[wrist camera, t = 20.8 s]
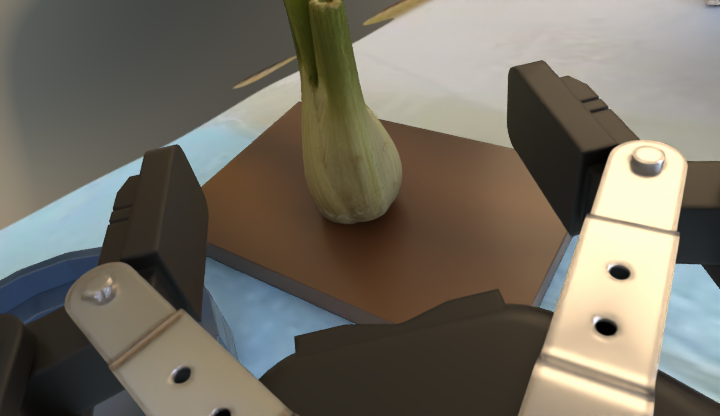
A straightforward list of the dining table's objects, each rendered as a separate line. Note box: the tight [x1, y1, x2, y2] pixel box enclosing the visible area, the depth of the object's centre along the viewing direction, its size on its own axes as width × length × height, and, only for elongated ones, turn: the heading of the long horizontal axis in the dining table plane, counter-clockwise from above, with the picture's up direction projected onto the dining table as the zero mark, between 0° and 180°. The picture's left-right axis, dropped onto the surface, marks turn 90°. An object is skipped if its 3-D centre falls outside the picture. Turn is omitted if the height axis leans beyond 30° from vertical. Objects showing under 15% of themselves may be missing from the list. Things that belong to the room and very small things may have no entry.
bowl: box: [0, 247, 238, 416], centre depth 23 cm, size 15×15×3 cm
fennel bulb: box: [283, 0, 402, 224], centre depth 25 cm, size 6×5×12 cm
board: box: [201, 101, 573, 324], centre depth 30 cm, size 13×20×2 cm, turn 57°
